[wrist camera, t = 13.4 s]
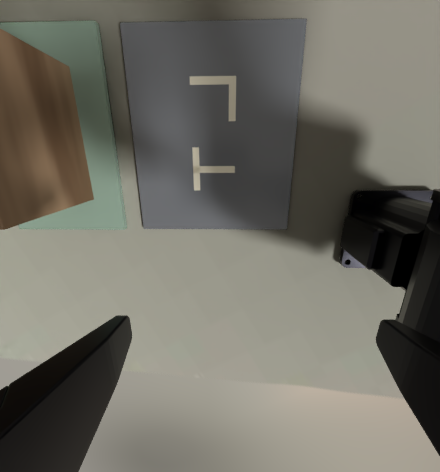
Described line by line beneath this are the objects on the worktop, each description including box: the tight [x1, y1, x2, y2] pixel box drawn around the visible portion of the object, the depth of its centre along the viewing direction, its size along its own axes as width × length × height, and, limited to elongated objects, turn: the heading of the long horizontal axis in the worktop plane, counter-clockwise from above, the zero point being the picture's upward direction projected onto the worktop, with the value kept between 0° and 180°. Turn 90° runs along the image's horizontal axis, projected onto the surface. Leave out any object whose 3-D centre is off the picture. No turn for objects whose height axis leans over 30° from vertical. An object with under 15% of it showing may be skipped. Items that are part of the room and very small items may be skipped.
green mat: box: [0, 21, 127, 230], centre depth 18 cm, size 9×14×1 cm, turn 0°
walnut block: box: [0, 29, 94, 229], centre depth 14 cm, size 5×9×8 cm, turn 1°
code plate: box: [120, 19, 307, 229], centre depth 17 cm, size 12×14×1 cm
